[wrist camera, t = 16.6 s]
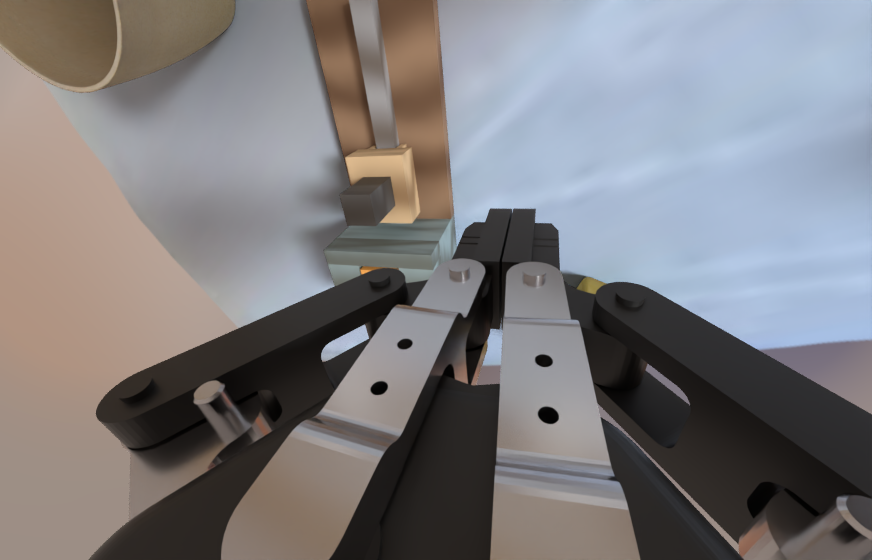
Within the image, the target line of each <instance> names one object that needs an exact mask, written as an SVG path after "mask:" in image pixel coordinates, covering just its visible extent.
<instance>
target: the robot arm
mask: <svg viewBox="0 0 872 560" xmlns="http://www.w3.org/2000/svg"><path fill="white" fill-rule="evenodd" d="M535 213H536V209H513V213H512V209H490V210H489V213H488V216H487V219H486V222H474V223H473V224H471V225H470V226H468V227H467V228H466V229H465V231H464V233H463V235H462V238H461V240H460V242H459V244H458V246H457V249H456V251H455V253H454V255H453V258H452V260H449V261H446V262H444V263H442V264H440V265H439V266H438V267H437V268H436V269H435V271H434V272H433V274H432V275H431V277H430V278H429V280H424V281H418V282H410V283H406V279H405V275H404V274H403V273H402V272H401V271H400V270H397V269H393V268H380V269H375V270H372V271H369V272H367V273H364V274H362V275H360V276H358V277H355V278H353V279H351V280H348V281H346V282H344V283H342V284H339V285H337V286H335V287H332V288H330V289H328V290H326V291H323V292H321V293H319V294H316V295H314V296H312V297H310V298H307V299H305V300H303V301H300V302H298V303H296V304H293V305H291V306H289V307H287V308H284V309H282V310H280V311H277V312H275V313H273V314H271V315H268V316H266V317H264V318H261V319H259V320H257V321H255V322H252V323H250V324H248V325H245V326H243V327H241V328H239V329H236V330H234V331H232V332H229V333H228V334H225V335H223V336H220V337H218V338H216V339H214V340H211V341H209V342H207V343H205V344H202V345H200V346H197V347H195V348H193V349H191V350H188V351H186V352H184V353H181V354H179V355H177V356H175V357H172V358H170V359H168V360H165V361H163V362H161V363H158V364H156V365H154V366H152V367H149V368H147V369H145V370H143V371H140V372H138V373H136V374H134V375H132V376H130V377H128V378H127V379H125V380H123V381H122V382H120V383H119V384H118V385H116V386H115V387H114V388H113V389H111V390H110V391H109V392H108V393H107V394H106V395H105V396H104V398H103V399H102V400H101V402H100V403H99V405H98V407H97V410H96V416H97V418H98V420H99V421H100V422H101V423H102V424H104V426H106V427H107V428H108V429H109V430H110V431H111V432H112V433H113V434H114V435H115V436H116V437H117V438H118V439H119V440H120V441H121V444H122V446H123V447H124V448H125V449H126V450H127V451H128V452H129V453H130V456H131V457H130V495H129V522H127V523H126V524H125V525H124V526H122V527H121V528H120V529H119V530H118V531H117V532H116V533H114V534H113V535H112V536H111V537H110V538H109V539H108V540H107V541H106V542H105V543H104V544H103V545H102V546H101V547H100V548H99V549H98V550H97V551H96V552H95V553H94V554H93V555H92V556H91V557H90V559H89V560H872V414H870V413H868V412H866V411H865V410H863V409H861V408H859V407H857V406H856V405H854V404H852V403H851V402H849V401H847V400H845V399H844V398H842V397H840V396H838V395H836V394H835V393H833V392H831V391H829V390H828V389H826V388H824V387H822V386H821V385H819V384H817V383H815V382H814V381H812V380H810V379H808V378H807V377H805V376H803V375H801V374H799V373H798V372H796V371H794V370H792V369H791V368H789V367H787V366H785V365H784V364H782V363H780V362H778V361H777V360H775V359H773V358H771V357H770V356H767V355H766V354H764V353H762V352H761V351H759V350H757V349H755V348H754V347H752V346H750V345H748V344H747V343H745V342H743V341H741V340H740V339H738V338H736V337H734V336H733V335H731V334H729V333H727V332H725V331H724V330H722V329H720V328H718V327H717V326H715V325H713V324H711V323H710V322H708V321H706V320H704V319H703V318H701V317H699V316H697V315H695V314H694V313H692V312H690V311H688V310H687V309H685V308H683V307H681V306H680V305H678V304H676V303H674V302H673V301H671V300H669V299H667V298H666V297H664V296H662V295H660V294H658V293H657V292H655V291H653V290H651V289H649V288H647V287H645V286H642V285H638V284H634V283H628V282H614V283H608V284H605V285H603V286H601V287H600V288H599V289H598V290H597V291H596V294H592V293H588V292H585V291H581V290H578V289H576V288H574V287H572V286H570V285H568V284H567V283H566V282H565V281H564V280H563V276H562V273H561V272H560V263H559V235H558V230H557V229H556V228H555V227H554V226H553V225H552V224H549V223H535ZM501 318H502V330H503V336H502V356H501V376H500V384H490V385H476V383H477V380H478V377H479V374H480V371H481V367H482V364H483V361H484V358H485V355H486V351H487V347H488V345H487V339H488V337H489V334H490V329H500V323H501ZM364 324H365V325H366V329H367V333H368V336H369V339H368V340H366V341H364V342H362V343H360V344H358V345H357V346H355V347H353V348H351V349H349V350H347V351H345V352H343V353H342V354H340V355H338V356H336V357H334V358H332V359H330V360H328V361H326V362H322V360H321V353H322V350H323V348H324V347H325V346H326V345H327V344H328V343H329V342H331V341H333V340H335V339H337V338H339V337H341V336H343V335H345V334H347V333H349V332H351V331H352V330H354V329H356V328H358V327H360V326H362V325H364ZM647 364H649V365H651V366H652V367H653V368H655V369H656V370H657V371H658V372H660V373H661V374H662V375H664V376H665V377H666V378H668V379H669V380H670V381H672V382H673V383H674V384H676V385H677V386H678V387H679V388H680V389H681V390H682V391H683V392H684V393H685V395H686V396H687V397H688V400H689V402H690V406H689V404H687V403H686V402H685V401H684V400H682V399H681V398H680V397H678V396H677V395H676V394H675V393H673V392H672V391H671V390H670V389H668V388H667V387H665V385H663V384H662V383H661V382H659V381H658V380H657V379H656V378H654V377H653V376H652V375H651V374H649V373H648V372H647V371H646V367H647ZM597 403H598V404H599V405H600V406H601V407H602V408H603V409H604V410H605V411H606V412H607V413H608V414H609V415H610V416H611V417H612V418H613V419H614V420H615V421H616V422H617V423H618V424H619V425H620V426H621V427H622V428H623V429H624V430H625V431H626V432H627V433H628V434H629V435H630V436H631V437H632V438H633V439H634V440H635V441H636V442H637V443H638V444H639V445H640V446H641V447H642V448H643V449H644V450H645V451H646V452H647V453H648V454H649V455H650V456H651V457H652V458H653V459H654V460H655V461H656V462H657V463H658V464H659V465H660V466H661V467H662V468H663V469H664V470H665V471H666V472H667V473H668V474H669V475H670V476H671V477H672V478H673V479H674V480H675V481H676V482H677V483H678V484H679V485H680V486H681V487H682V488H683V489H684V490H685V491H686V492H687V493H688V494H689V495H690V496H691V497H692V498H693V499H694V500H695V501H696V502H697V503H698V504H699V505H700V506H701V507H702V508H703V509H704V510H705V511H706V512H707V513H708V514H709V515H710V516H711V517H712V518H713V519H714V520H715V521H716V522H717V523H718V524H719V525H720V526H721V527H722V528H723V529H724V530H725V531H726V532H727V533H728V534H729V535H730V536H731V537H732V538H733V539H734V540H735V541H736V542H737V543H738V544H739V554H738V553H737V551H736V550H735V549H734V548H733V547H732V546H731V545H730V544H729V543H728V542H727V541H726V540H725V539H724V538H723V537H722V536H721V535H720V533H719V532H718V531H717V530H716V529H715V528H714V527H713V526H712V525H711V524H710V523H709V522H708V521H707V520H706V518H705V517H704V516H703V515H702V514H701V513H700V512H699V511H698V510H697V509H696V508H695V507H694V506H693V505H692V504H691V503H690V501H689V500H688V499H687V498H686V497H685V496H684V495H683V494H682V493H681V492H680V491H679V490H678V489H677V488H676V487H675V485H674V484H673V483H672V482H671V481H670V480H669V479H668V478H667V477H666V476H665V475H664V474H663V473H662V472H661V471H660V469H659V468H658V467H656V465H655V464H654V463H653V462H652V461H651V460H650V459H649V458H648V457H647V456H646V455H645V454H644V453H643V451H642V450H641V449H640V448H639V447H638V446H637V445H636V444H635V443H634V442H633V441H632V440H631V439H630V438H628V437H627V436H626V435H625V434H624V433H623V432H622V431H620V430H619V429H618V428H616V427H615V426H613V425H612V424H611V423H609V422H608V421H606V420H604V419H603V418H601V417H600V413H599V410H598V404H597Z"/></svg>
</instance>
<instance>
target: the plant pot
mask: <svg viewBox="0 0 872 560" xmlns="http://www.w3.org/2000/svg"><path fill="white" fill-rule="evenodd" d="M234 13H235V0H0V47H1V48H2V49H3V50H4V51H5V52H6V53H7V54H8V55H9V56H11V57H12V58H13V59H14V60H16V61H17V62H18V63H19V64H20V65H22V66H23V67H24V68H26V69H27V70H28V71H30V72H31V73H33V74H34V75H36V76H38V77H39V78H41V79H43V80H45V81H46V82H48V83H50V84H52V85H54V86H57V87H59V88H62V89H65V90H69V91H73V92H80V93H84V92H93V91H97V90H100V89H104V88H107V87H111V86H114V85H117V84H120V83H123V82H127V81H130V80H133V79H136V78H139V77H142V76H145V75H147V74H150V73H153V72H155V71H158V70H160V69H163V68H165V67H167V66H169V65H172V64H174V63H176V62H178V61H180V60H182V59H184V58H186V57H188V56H189V55H191V54H193V53H195V52H196V51H198V50H200V49H201V48H203V47H204V46H206V45H207V44H209V43H210V42H211V41H213V40H214V39H215V38H217V37H218V36H219V35H220V34H221V33H223V32H224V31H225V30H226V29H227V28H228V27H229V26H230V24H231V23H232V20H233V17H234Z"/></svg>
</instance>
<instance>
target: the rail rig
mask: <svg viewBox="0 0 872 560" xmlns="http://www.w3.org/2000/svg"><path fill="white" fill-rule="evenodd" d="M306 2H307V6H308V10H309V15H310V19H311V23H312V27H313V31H314V35H315V40H316V44H317V48H318V52H319V56H320V60H321V64H322V69H323V73H324V77H325V81H326V85H327V89H328V94H329V98H330V102H331V106H332V110H333V114H334V118H335V123H336V127H337V131H338V135H339V139H340V143H341V148H342V152H343V156H344V160H345V164H346V168H347V163H346V159H345V157H347V156H348V155H350V154H352V153H353V152H355V151H357V150H360V149H369V148H370V147H372V146H376V147H377V149H383V148H397V147H398V146H399V145H401V144H406V146H407V147H412V154H413V161H414V169H415V176H416V184H417V191H418V198H419V206H420V213H419V215H418V216H417V217H416V219H415V220H414V221H413V223H379V224H378V225H377V226H349V227H348V228H347V229H346V230H345V231H344V232H343V233H342V234H340V235H339V236H338V237H337V238H336V239H335V240H334V241H333V242H332V243H331V244H330V245H329V246H328V247H327V248H326V249H325V250H324V254H325V257H326V260H327V263H328V266H329V269H330V272H331V276H332V279H333V282H334V285H335V286H337V285H339V284H342V283H344V282H346V281H348V280H351V279H353V278H355V277H358V276H360V275H362V274H361V268H362V267H363V266H369V267H387V268H399V270H400V271H401V272H402V273H403V274H404V275H405V279H406V283H410V282H418V281H424V280H429V278H430V277H431V275H432V274H433V272H434V271H435V269H436V268H437V267H438V266H439V265H440V264H442V263H444V262H446V261H449V260H452V258H453V255H454V253H455V251H456V249H457V246H456V234H455V221H454V208H453V196H452V183H451V170H450V158H449V145H448V133H447V120H446V107H445V95H444V82H443V69H442V57H441V44H440V32H439V19H438V6H437V0H306ZM347 172H348V168H347ZM348 177H349V181H350V185H351V186H352V184H351V180H350V176H349V172H348Z"/></svg>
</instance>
